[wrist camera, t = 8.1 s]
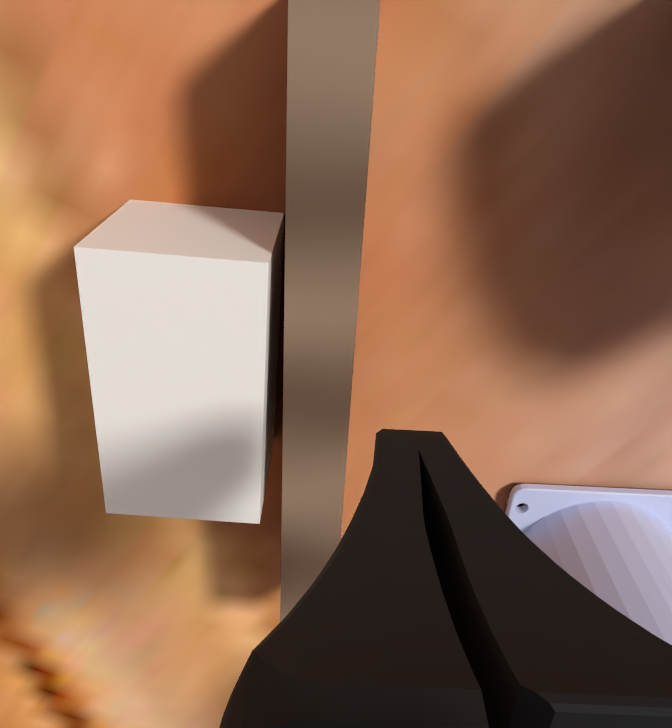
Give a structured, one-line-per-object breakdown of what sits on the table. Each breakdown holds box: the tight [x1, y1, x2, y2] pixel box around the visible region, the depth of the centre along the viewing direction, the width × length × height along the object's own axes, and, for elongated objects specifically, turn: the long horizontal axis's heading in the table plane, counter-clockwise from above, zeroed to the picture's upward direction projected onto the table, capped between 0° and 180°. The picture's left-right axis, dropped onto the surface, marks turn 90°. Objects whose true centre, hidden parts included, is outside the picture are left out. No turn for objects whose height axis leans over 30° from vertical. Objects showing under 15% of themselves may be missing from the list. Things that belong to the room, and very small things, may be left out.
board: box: [280, 0, 380, 622], centre depth 21 cm, size 22×2×4 cm, turn 177°
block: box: [74, 200, 284, 524], centre depth 20 cm, size 9×5×5 cm, turn 175°
